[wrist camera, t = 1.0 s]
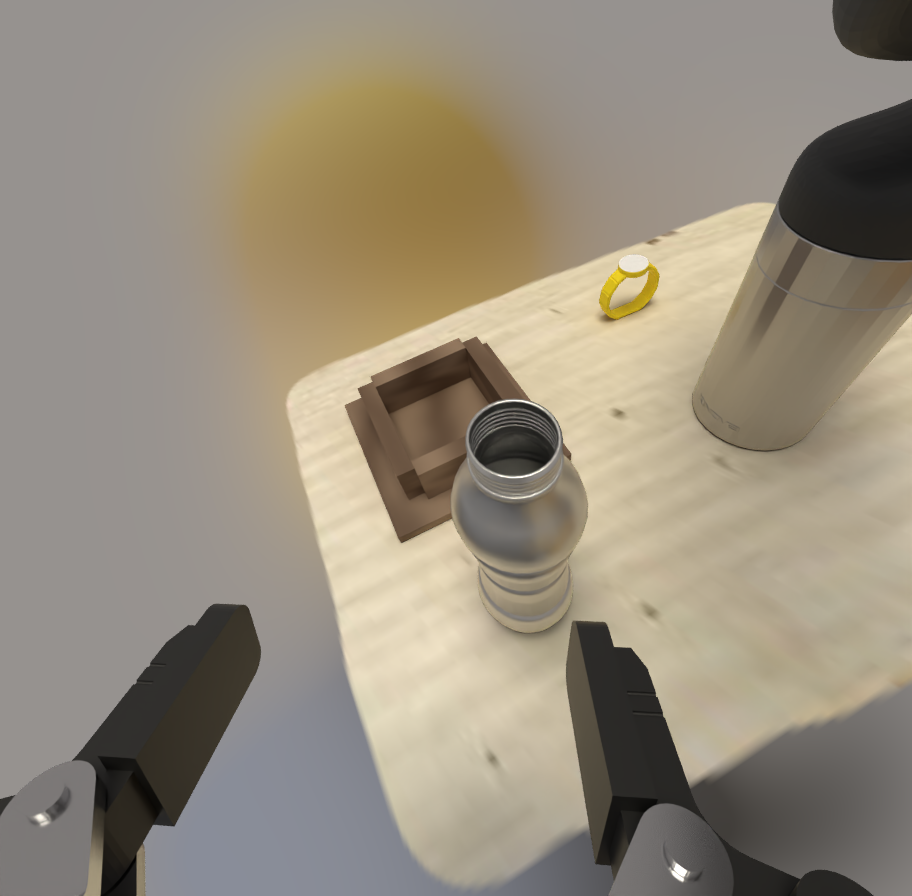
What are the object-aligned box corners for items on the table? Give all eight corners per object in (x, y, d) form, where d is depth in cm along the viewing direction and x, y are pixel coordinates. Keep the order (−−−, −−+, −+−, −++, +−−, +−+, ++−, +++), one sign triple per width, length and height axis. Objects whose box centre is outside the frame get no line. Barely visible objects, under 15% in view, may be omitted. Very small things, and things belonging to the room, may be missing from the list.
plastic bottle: (510, 657, 30) (480, 556, 14) (465, 573, 34) (400, 414, 18) (589, 611, 31) (647, 463, 15) (537, 533, 35) (538, 347, 19)
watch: (608, 330, 47) (612, 284, 42) (594, 316, 48) (596, 269, 43) (659, 307, 47) (669, 257, 42) (642, 292, 48) (650, 243, 43)
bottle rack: (487, 349, 47) (482, 312, 43) (570, 460, 38) (574, 425, 34) (348, 411, 45) (329, 378, 41) (401, 542, 36) (384, 516, 32)
